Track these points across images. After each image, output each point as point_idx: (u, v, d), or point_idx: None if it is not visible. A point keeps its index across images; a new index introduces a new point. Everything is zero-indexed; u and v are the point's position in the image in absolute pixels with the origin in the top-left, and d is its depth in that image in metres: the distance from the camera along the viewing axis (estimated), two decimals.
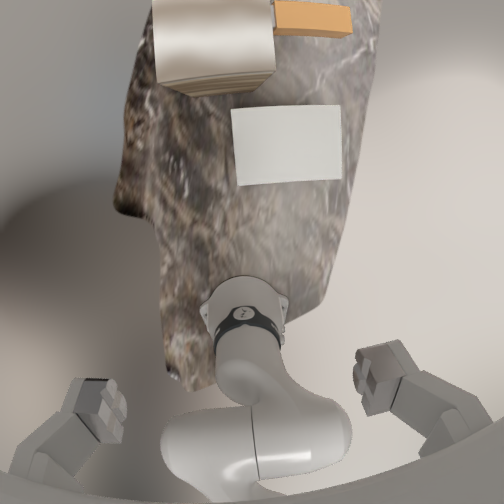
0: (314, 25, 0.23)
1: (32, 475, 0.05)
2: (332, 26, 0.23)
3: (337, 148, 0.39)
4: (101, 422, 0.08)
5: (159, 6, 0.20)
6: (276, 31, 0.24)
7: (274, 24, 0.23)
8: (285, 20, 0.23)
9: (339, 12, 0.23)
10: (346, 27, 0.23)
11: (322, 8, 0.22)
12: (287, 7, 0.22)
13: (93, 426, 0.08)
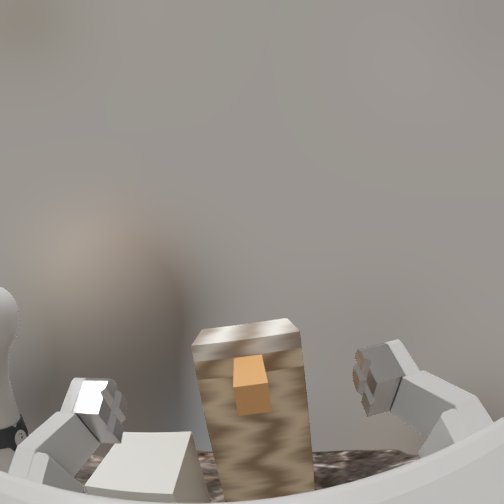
0: (237, 369, 0.29)
1: (32, 475, 0.05)
2: (238, 377, 0.28)
3: (120, 487, 0.23)
4: (101, 422, 0.08)
5: (254, 323, 0.43)
6: None
7: None
8: (241, 359, 0.32)
9: (257, 378, 0.27)
10: (239, 383, 0.26)
11: (259, 371, 0.28)
12: (255, 358, 0.32)
13: (93, 426, 0.08)
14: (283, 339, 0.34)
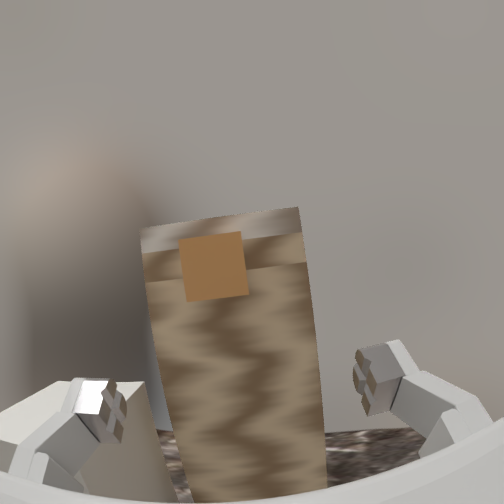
0: None
1: (32, 475, 0.05)
2: None
3: (8, 437, 0.12)
4: (101, 422, 0.08)
5: None
6: None
7: None
8: None
9: None
10: None
11: None
12: None
13: (93, 426, 0.08)
14: (274, 218, 0.23)
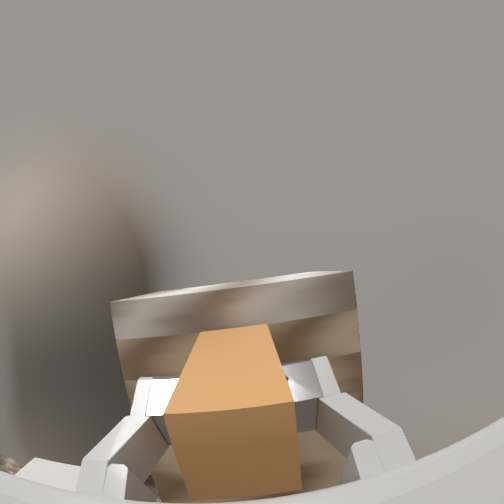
0: (199, 357, 0.10)
1: (109, 491, 0.05)
2: (194, 378, 0.08)
3: None
4: None
5: None
6: None
7: None
8: (216, 334, 0.13)
9: (254, 384, 0.08)
10: (188, 400, 0.07)
11: (260, 361, 0.09)
12: (250, 332, 0.13)
13: None
14: (317, 289, 0.15)
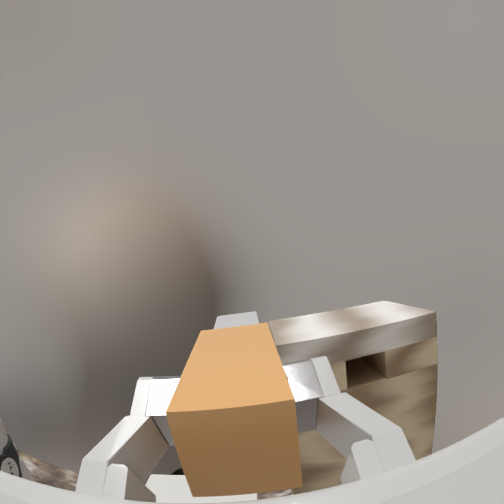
0: (201, 356, 0.10)
1: (109, 491, 0.05)
2: (196, 376, 0.09)
3: None
4: None
5: (344, 309, 0.29)
6: None
7: None
8: (217, 333, 0.13)
9: (255, 383, 0.08)
10: (191, 399, 0.07)
11: (261, 360, 0.09)
12: (251, 331, 0.13)
13: (167, 428, 0.08)
14: (415, 325, 0.20)
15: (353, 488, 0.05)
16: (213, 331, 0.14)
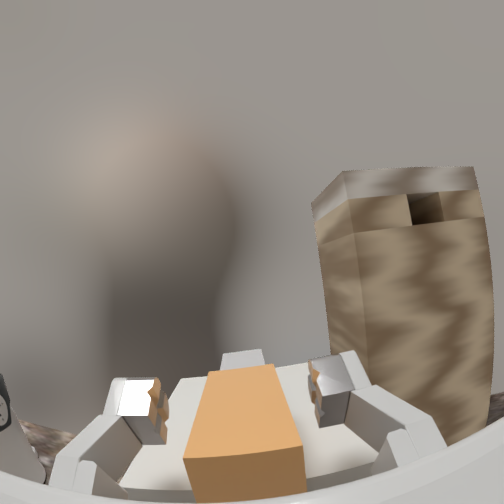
0: (211, 400, 0.10)
1: (78, 486, 0.05)
2: (208, 422, 0.09)
3: None
4: (149, 423, 0.08)
5: None
6: None
7: None
8: (225, 375, 0.13)
9: (265, 429, 0.08)
10: (205, 445, 0.07)
11: (269, 404, 0.10)
12: (258, 373, 0.13)
13: (139, 428, 0.08)
14: (459, 174, 0.20)
15: (353, 488, 0.05)
16: (221, 372, 0.14)
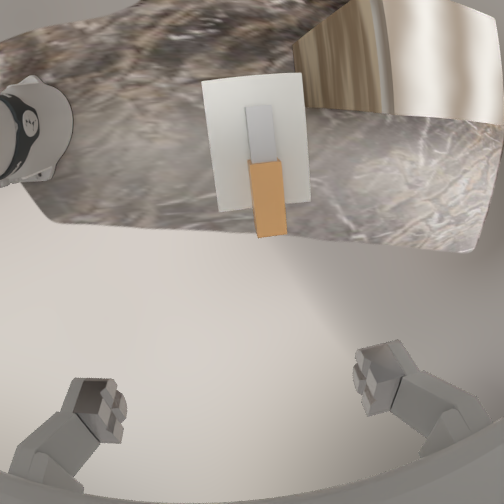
0: (258, 200, 0.31)
1: (32, 475, 0.05)
2: (260, 218, 0.31)
3: None
4: (101, 422, 0.08)
5: (459, 10, 0.14)
6: (248, 164, 0.30)
7: (255, 162, 0.30)
8: (259, 172, 0.29)
9: (278, 224, 0.32)
10: (262, 231, 0.32)
11: (279, 207, 0.31)
12: (274, 173, 0.29)
13: (93, 426, 0.08)
14: None
15: (353, 488, 0.05)
16: (256, 168, 0.29)
